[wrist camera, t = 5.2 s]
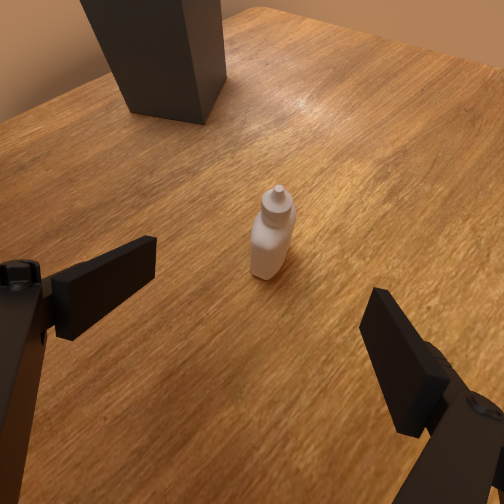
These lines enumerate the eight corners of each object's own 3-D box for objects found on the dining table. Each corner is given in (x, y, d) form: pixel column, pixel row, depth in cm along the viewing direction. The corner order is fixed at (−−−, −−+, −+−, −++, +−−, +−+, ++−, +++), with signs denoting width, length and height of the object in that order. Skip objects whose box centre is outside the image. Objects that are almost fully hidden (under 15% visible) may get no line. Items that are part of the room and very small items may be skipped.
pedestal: (130, 112, 41) (49, -66, 24) (160, 67, 46) (110, -104, 30) (204, 125, 39) (171, -53, 23) (226, 77, 45) (212, -96, 28)
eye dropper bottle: (237, 256, 30) (229, 185, 19) (277, 232, 31) (290, 153, 21) (260, 286, 28) (264, 228, 18) (300, 259, 30) (328, 190, 19)
